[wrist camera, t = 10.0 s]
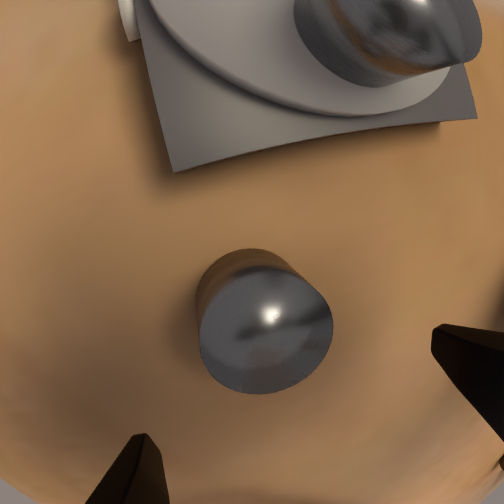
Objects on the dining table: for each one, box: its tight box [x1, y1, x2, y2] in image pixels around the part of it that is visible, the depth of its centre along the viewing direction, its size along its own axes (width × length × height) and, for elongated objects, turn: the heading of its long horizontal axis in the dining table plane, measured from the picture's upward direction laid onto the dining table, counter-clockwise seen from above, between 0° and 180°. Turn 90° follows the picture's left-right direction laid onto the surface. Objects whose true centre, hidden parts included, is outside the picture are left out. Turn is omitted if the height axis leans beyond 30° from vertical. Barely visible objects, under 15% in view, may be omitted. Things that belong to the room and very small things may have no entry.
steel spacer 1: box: [196, 249, 333, 394], centre depth 13 cm, size 5×5×4 cm
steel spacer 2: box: [293, 0, 482, 88], centre depth 7 cm, size 5×5×4 cm
